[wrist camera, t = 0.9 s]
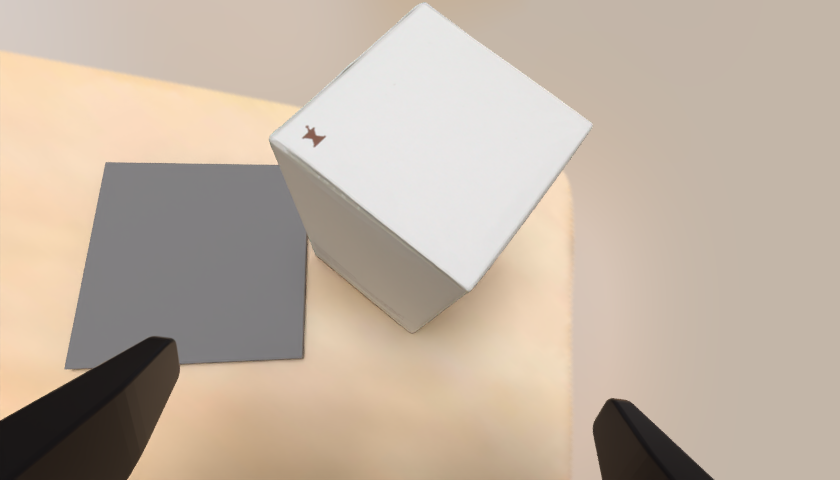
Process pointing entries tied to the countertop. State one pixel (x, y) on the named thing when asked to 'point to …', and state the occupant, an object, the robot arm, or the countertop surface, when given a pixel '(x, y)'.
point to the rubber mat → (193, 265)
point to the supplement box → (423, 164)
